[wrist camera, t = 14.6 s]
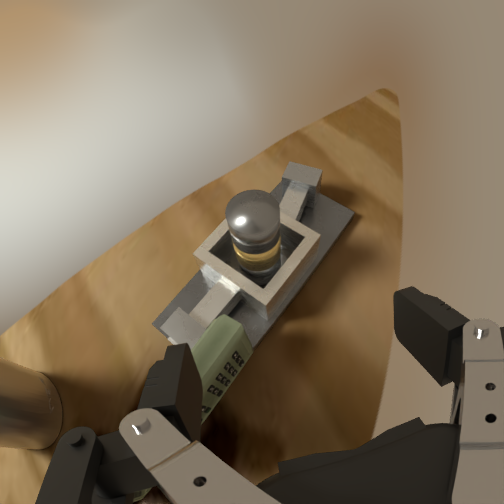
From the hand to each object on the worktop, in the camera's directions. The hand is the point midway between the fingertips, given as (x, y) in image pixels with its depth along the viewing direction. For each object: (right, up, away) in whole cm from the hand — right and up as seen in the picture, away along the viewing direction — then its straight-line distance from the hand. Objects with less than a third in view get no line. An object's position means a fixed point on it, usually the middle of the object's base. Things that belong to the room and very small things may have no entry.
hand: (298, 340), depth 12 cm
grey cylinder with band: (-1, +2, +20) cm, 20 cm away
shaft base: (-1, +1, +21) cm, 21 cm away
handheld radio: (-9, -14, +14) cm, 22 cm away
